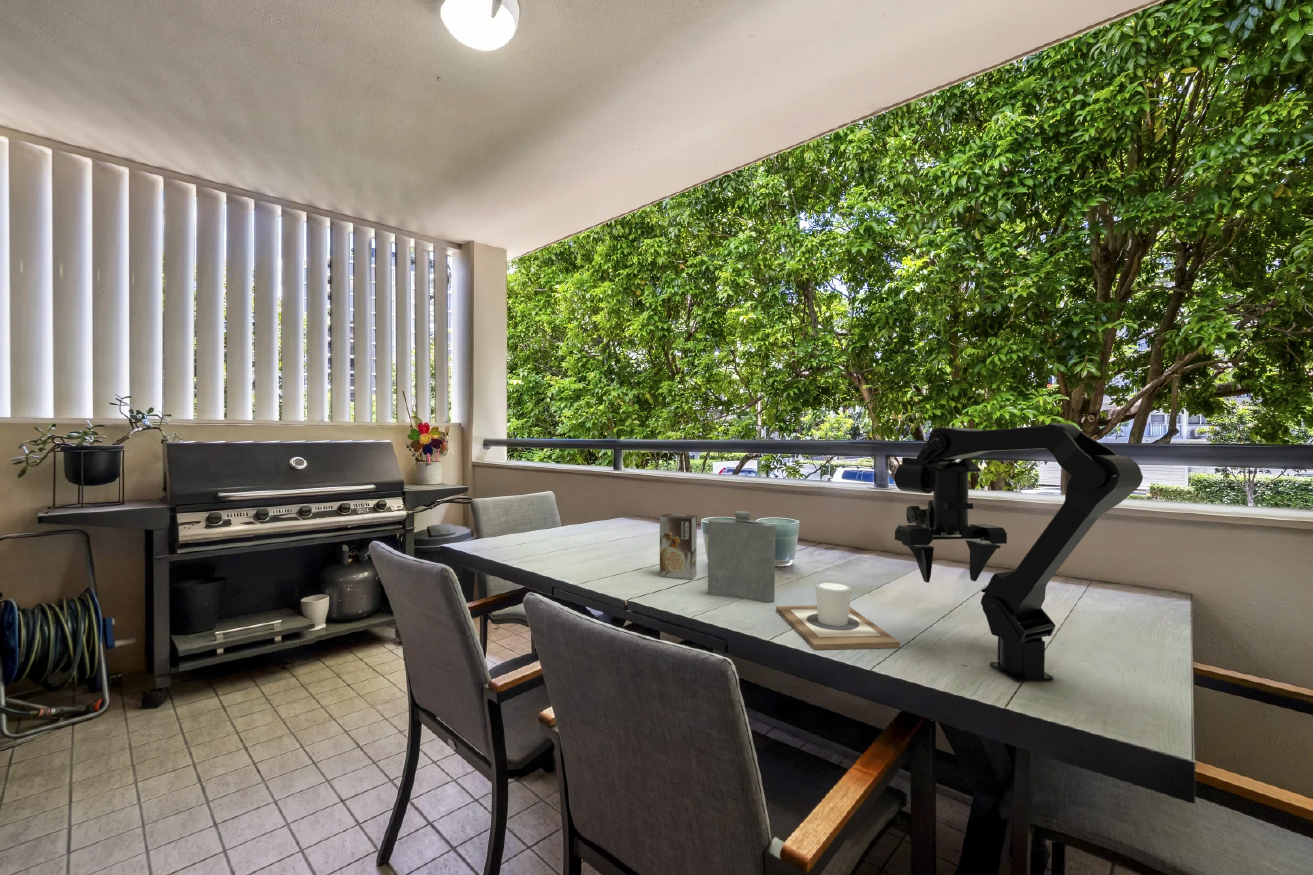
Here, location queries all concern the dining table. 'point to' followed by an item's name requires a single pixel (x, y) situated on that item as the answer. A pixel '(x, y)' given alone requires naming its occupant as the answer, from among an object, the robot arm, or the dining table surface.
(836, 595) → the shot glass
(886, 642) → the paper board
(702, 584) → the dining table surface
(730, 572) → the hip flask
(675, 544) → the coffee box
